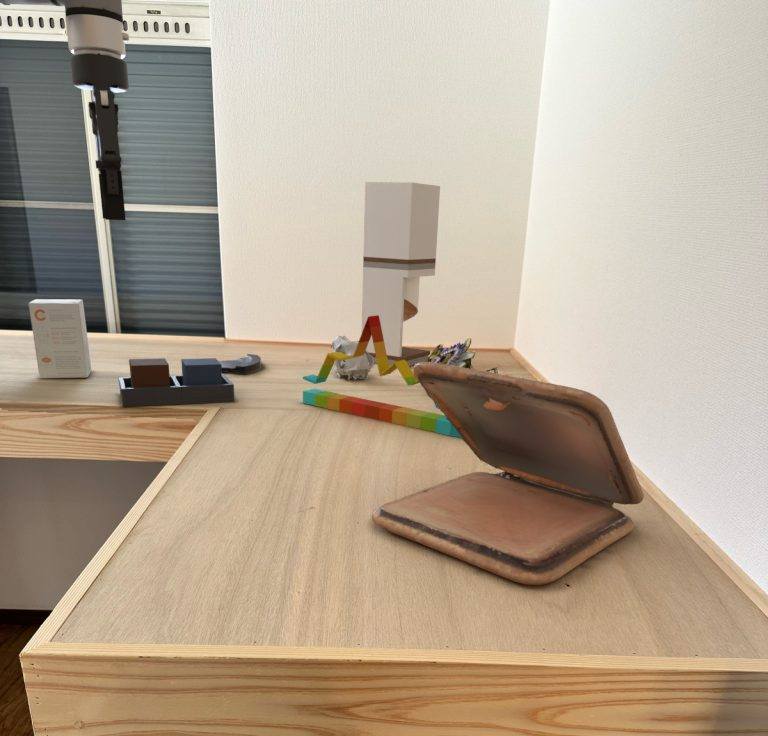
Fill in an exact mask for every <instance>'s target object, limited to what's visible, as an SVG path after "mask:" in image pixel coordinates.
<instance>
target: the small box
mask: <svg viewBox="0 0 768 736" xmlns="http://www.w3.org/2000/svg"><path fill="white" fill-rule="evenodd" d="M27 304H28V310H29V315H30V316H29V317H30V323H31V329H32V335H33V343H34V349H35V357H36V362H37V363H36V364H37V370H38V376H39V379H70V378H71V379H75V378H76V379H77V378H79V379H80V378H81V379H82V378H85V379H86V378H89V375H90V374H91V373H92V364H91V363H92V362H91V355H90V345H89V338H88V330H87V323H86V315H85V307H84V306H85V305H84V301H83V299H68V298H67V299H62V298H61V299H58V298H56V299H55V298H54V299H53V298H52V299H51V298H50V299H49V298H48V299H47V298H45V299H43V298H40V299H39V298H36V299H33V300H31V301H29V302H28V303H27Z"/></svg>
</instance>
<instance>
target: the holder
mask: <svg viewBox="0 0 768 736" xmlns="http://www.w3.org/2000/svg"><path fill="white" fill-rule="evenodd" d="M118 387H119V396H120V400H121V405H122V407H123V408H131V407H151V406H153V407H154V406H173V405H194V404H213V403H214V404H215V403H233V402H235V385H234V383H233V382H232V381H231V380H230V379H229V377H228V376H227V375H226V374H225V373H222V384H215V385H190V386H183V378H182V374H179V375H170V386H164V387H139V388H132V386H131V376H126V377H125V376H124V377H123V376H121V377H118Z"/></svg>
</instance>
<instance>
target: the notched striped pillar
mask: <svg viewBox="0 0 768 736" xmlns="http://www.w3.org/2000/svg"><path fill="white" fill-rule="evenodd" d="M440 194H441V186H440V185H434V184H426V183H418V182H402V181H401V182H399V181H397V182H393V181H390V182H387V181H385V182H383V181H365V184H364V217H363V219H364V220H363V221H364V222H363V223H364V225H363V255H362V256H363V257H362V258H363V259H362V297H361V299H362V301H361V303H362V304H361V332H362V331H363V329H364V326H365V324H366V321H367V318H368V317H369V316H377V315H378V316H379V319H380V324H381V329H382V334H383V339H384V344H385V349H386V354H387V359H388V364H389V366H390V365H391V364H392V363H394V362H396V361H400V360H405V361H406V362H407V364H408V365H409V367H410V366H413V365H414V366H415V365H416V364H417V363H419V362H428V358H429V357H428V355H430V354H431V350H428V349H420V348H414V347H407V346H403V332H404V322H406V321H408V320H410V319H412V318H414V317H415V316H416V315H418V312H419V298H420V279H421V278H422V277H431V276H432V277H434V276H436V262H437V261H436V260H437V259H436V258H437V245H438V244H437V243H438V229H439V228H438V227H439V211H440ZM366 351H368V353H369V354H370V355H371V356H372V357H373V360H374V364H377V359H376V354H375V349H374V344H373V339H372V335H371V338H370V341H369V343H368V346H367V348H366ZM368 363H370V360H369V361H368Z"/></svg>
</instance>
